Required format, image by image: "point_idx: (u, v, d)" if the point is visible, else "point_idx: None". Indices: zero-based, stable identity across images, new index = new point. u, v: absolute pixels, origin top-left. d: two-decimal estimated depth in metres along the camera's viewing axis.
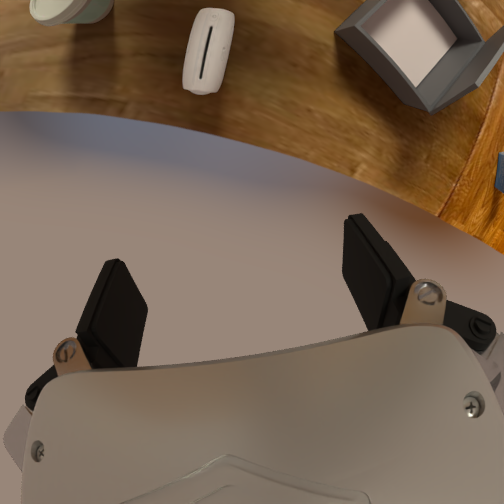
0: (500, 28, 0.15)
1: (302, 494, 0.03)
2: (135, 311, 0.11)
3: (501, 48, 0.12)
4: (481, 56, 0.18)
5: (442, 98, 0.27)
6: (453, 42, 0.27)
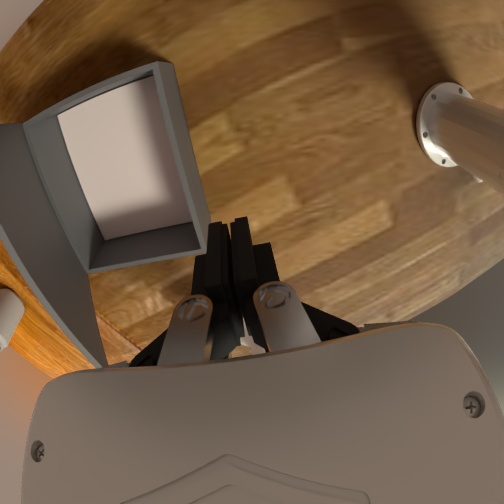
0: (92, 304, 0.26)
1: (302, 494, 0.03)
2: None
3: (6, 239, 0.11)
4: (45, 231, 0.19)
5: (25, 147, 0.19)
6: (101, 230, 0.34)
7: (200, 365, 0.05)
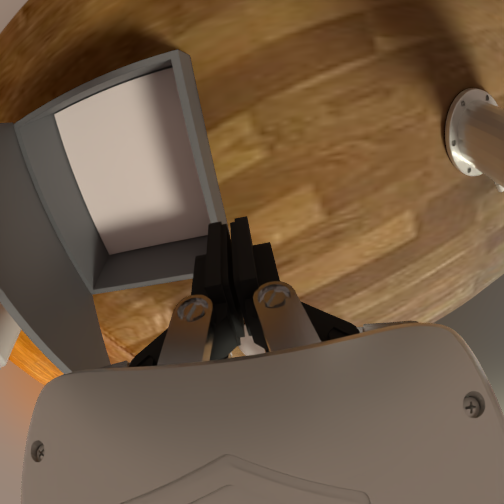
0: (99, 332, 0.22)
1: (302, 494, 0.03)
2: None
3: None
4: (42, 254, 0.16)
5: (17, 152, 0.16)
6: (105, 244, 0.31)
7: (200, 365, 0.05)
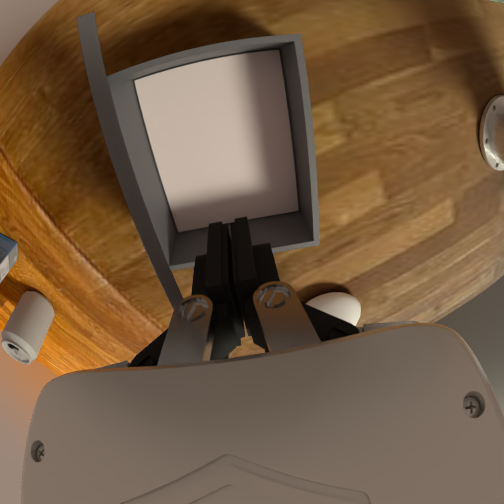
0: None
1: (302, 494, 0.03)
2: None
3: (147, 227, 0.08)
4: None
5: None
6: (175, 221, 0.32)
7: (200, 365, 0.05)
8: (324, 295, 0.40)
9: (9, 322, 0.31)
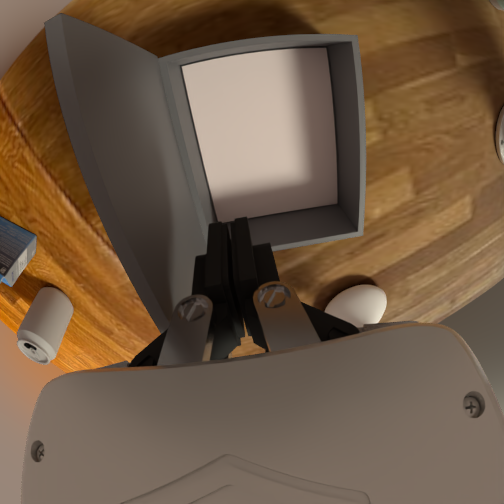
0: None
1: (302, 494, 0.03)
2: None
3: (126, 250, 0.07)
4: (179, 213, 0.16)
5: (161, 89, 0.17)
6: (216, 212, 0.32)
7: (200, 365, 0.05)
8: (354, 287, 0.40)
9: (26, 320, 0.31)
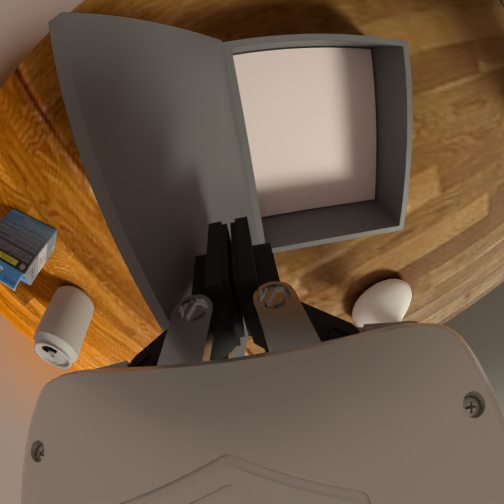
0: None
1: (302, 494, 0.03)
2: None
3: (128, 249, 0.07)
4: (222, 205, 0.16)
5: (222, 74, 0.17)
6: (259, 205, 0.32)
7: (200, 365, 0.05)
8: (384, 281, 0.40)
9: (44, 321, 0.30)
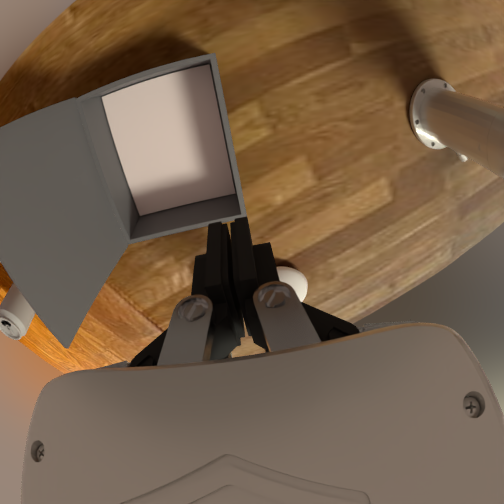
0: (104, 278, 0.29)
1: (302, 494, 0.03)
2: None
3: None
4: (60, 210, 0.22)
5: (72, 123, 0.23)
6: (137, 206, 0.38)
7: (200, 365, 0.05)
8: None
9: (3, 302, 0.35)
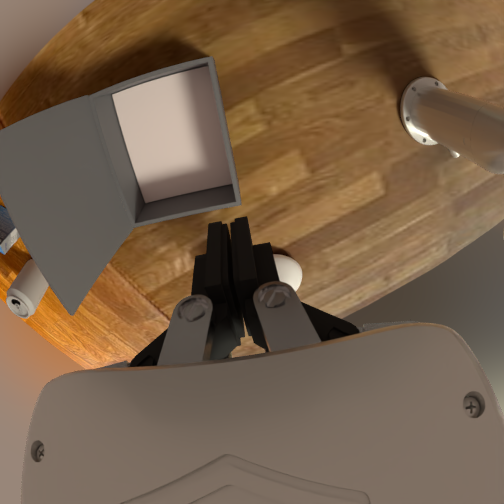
0: (110, 255, 0.33)
1: (302, 494, 0.03)
2: None
3: (7, 208, 0.17)
4: (73, 193, 0.26)
5: (85, 117, 0.26)
6: (143, 194, 0.42)
7: (200, 365, 0.05)
8: None
9: (14, 282, 0.40)
